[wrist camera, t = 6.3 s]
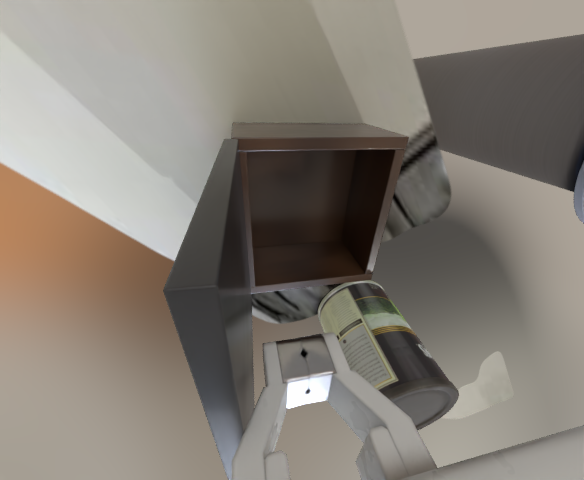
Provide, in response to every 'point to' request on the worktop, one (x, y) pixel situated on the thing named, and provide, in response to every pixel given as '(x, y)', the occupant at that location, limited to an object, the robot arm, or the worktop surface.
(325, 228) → the open brown box
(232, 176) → the dark grey box door
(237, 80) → the worktop surface
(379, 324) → the coffee can
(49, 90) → the worktop surface
